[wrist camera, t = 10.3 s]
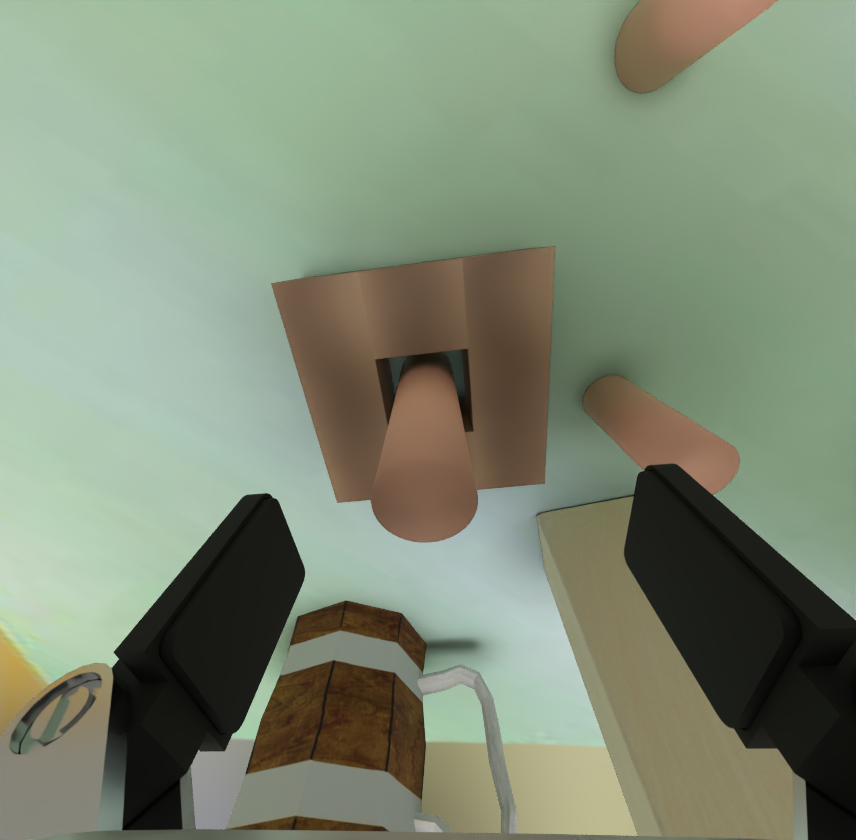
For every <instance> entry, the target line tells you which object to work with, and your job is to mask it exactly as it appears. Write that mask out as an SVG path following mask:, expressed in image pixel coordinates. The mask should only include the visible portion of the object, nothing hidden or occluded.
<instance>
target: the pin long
mask: <svg viewBox="0 0 856 840" xmlns="http://www.w3.org/2000/svg"><path fill="white" fill-rule="evenodd" d="M371 504H372V509H373V512H374V515H375V516H376V518H377V520H378V521H379V523H380V524H381V525H382V526H383V527H384V528H385V529H386V530H388V531H389V532H391V533H392V534H394V535H396V536H398V537H400V538H403V539H405V540H409V541H414V542H436V541H441V540H444V539H447V538H450V537H452V536H454V535H456V534H458V533H459V532H461V531H462V530H463V529H464V528H465V527H466V526H467V525H468V524H469V523H470V522H471V520H472V519H473V517H474V515H475V513H476V510H477V505H478V496H477V490H476V485H475V480H474V475H473V471H472V466H471V461H470V456H469V451H468V446H467V441H466V436H465V431H464V426H463V421H462V416H461V411H460V406H459V401H458V396H457V391H456V386H455V381H454V376H453V371H452V366H451V363H450V360H449V359H448V357H447V356H446V355H445V354H444V353H443V352H435V353H426V354H418V355H409V356H407V358H406V359H405V361H404V364H403V368H402V372H401V376H400V380H399V384H398V388H397V392H396V396H395V400H394V404H393V409H392V413H391V417H390V421H389V425H388V429H387V433H386V437H385V441H384V445H383V449H382V453H381V457H380V462H379V466H378V470H377V474H376V478H375V482H374V486H373V490H372V495H371Z"/></svg>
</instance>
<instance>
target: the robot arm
mask: <svg viewBox="0 0 856 840" xmlns="http://www.w3.org/2000/svg"><path fill="white" fill-rule="evenodd" d="M624 558H625V561H626V564H627V566H628V568H629V569H630V571H631V573H632V574H633V576H634V578H635V579H636V581H637V583H638V584H639V586H640V588H641V589H642V591H643V592H644V594H645V596H646V597H647V599H648V601H649V602H650V604H651V606H652V607H653V609H654V611H655V612H656V614H657V616H658V617H659V619H660V621H661V622H662V624H663V626H664V627H665V629H666V631H667V632H668V634H669V636H670V637H671V639H672V641H673V642H674V644H675V646H676V647H677V649H678V651H679V652H680V654H681V656H682V657H683V659H684V661H685V662H686V664H687V666H688V667H689V669H690V671H691V672H692V674H693V675H694V677H695V679H696V680H697V682H698V684H699V685H700V687H701V689H702V690H703V692H704V694H705V695H706V697H707V699H708V700H709V702H710V704H711V705H712V707H713V709H714V710H715V712H716V714H717V715H718V717H719V718H720V720H721V721H722V722H723V723H724V724H725V725H726V726H727V727H729V728H734V730H735V731H736V733H737V735H738V736H739V738H740V740H741V741H742V743H743V744H744V746H745V748H746V749H778V750H779V752H780V753H781V755H782V756H783V757H784V759H785V760H786V762H787V763H788V765H789V766H790V768H791V769H792V779H793V827H794V840H856V620H854V619H853V618H852V617H851V616H850V615H849V614H848V613H847V612H845V611H844V610H843V609H842V608H841V607H840V606H839V605H837V604H836V603H835V602H834V601H833V600H832V599H831V598H829V597H828V596H827V595H826V594H825V593H824V592H823V591H821V590H820V589H819V588H818V587H817V586H816V585H815V584H813V583H812V582H811V581H810V580H809V579H808V578H807V577H805V576H804V575H803V574H802V573H801V572H800V571H799V570H797V569H796V568H795V567H794V566H793V565H792V564H791V563H789V562H788V561H787V560H786V559H785V558H784V557H783V556H781V555H780V554H779V553H778V552H777V551H776V550H775V549H773V548H772V547H771V546H770V545H769V544H768V543H767V542H765V541H764V540H763V539H762V538H761V537H760V536H759V535H757V534H756V533H755V532H754V531H753V530H752V529H751V528H749V527H748V526H747V525H746V524H745V523H744V522H743V521H742V520H740V519H739V518H738V517H737V516H736V515H735V514H734V513H732V512H731V511H730V510H729V509H728V508H727V507H726V506H724V505H723V504H722V503H721V502H720V501H719V500H718V499H716V498H715V497H714V496H713V495H712V494H711V493H710V492H708V491H707V490H706V489H705V488H704V487H703V486H702V485H700V484H699V483H698V482H697V481H696V480H695V479H694V478H692V477H691V476H690V475H689V474H688V473H687V472H686V471H684V470H683V469H682V468H681V467H680V466H678V465H677V464H673V463H671V464H657V465H648V466H647V467H646V468H645V469H644V471H643V472H640V473H639V474H638V476H637V481H636V487H635V492H634V498H633V503H632V508H631V514H630V519H629V525H628V530H627V535H626V541H625V546H624ZM304 577H305V568H304V565H303V563H302V560H301V558H300V555H299V553H298V550H297V547H296V545H295V542H294V540H293V537H292V535H291V532H290V530H289V527H288V524H287V522H286V519H285V517H284V514H283V512H282V509H281V507H280V504H279V502H278V500H277V499H275V498H272V496H271V495H270V494H267V493H265V494H252V495H246V496H244V497H243V498H242V499H241V500H240V501H239V502H238V504H237V505H236V506H235V507H234V508H233V510H232V511H231V512H230V513H229V514H228V516H227V517H226V518H225V519H224V520H223V522H222V523H221V524H220V525H219V526H218V528H217V529H216V530H215V531H214V532H213V534H212V535H211V536H210V537H209V538H208V540H207V541H206V542H205V543H204V544H203V546H202V547H201V548H200V549H199V550H198V552H197V553H196V554H195V555H194V556H193V558H192V559H191V560H190V561H189V562H188V564H187V565H186V566H185V567H184V568H183V570H182V571H181V572H180V573H179V574H178V576H177V577H176V578H175V579H174V580H173V582H172V583H171V584H170V585H169V586H168V588H167V589H166V590H165V591H164V592H163V594H162V595H161V596H160V597H159V598H158V600H157V601H156V602H155V603H154V604H153V606H152V607H151V608H150V609H149V610H148V612H147V613H146V614H145V615H144V616H143V618H142V619H141V620H140V621H139V622H138V624H137V625H136V626H135V627H134V628H133V630H132V631H131V632H130V633H129V634H128V636H127V637H126V638H125V639H124V640H123V642H122V643H121V644H120V645H119V646H118V648H117V649H116V650H115V651H114V653H115V655H116V656H117V657H118V658H119V660H118V661H117V662H116V664H115V665H114V666H113V667H112V668H111V667H109V666H108V665H107V664H103V663H93V664H89V665H86V666H82V667H80V668H78V669H76V670H73V671H71V672H69V673H67V674H65V675H64V676H62V677H61V678H59V679H58V680H56V681H54V682H53V683H51V684H50V685H48V686H47V687H46V688H45V689H44V690H42V691H41V692H40V693H39V694H37V695H36V696H35V697H34V698H32V700H30V701H29V702H28V704H27V705H26V706H25V707H24V708H23V709H22V710H21V711H20V712H19V713H18V714H17V715H16V716H15V717H14V719H13V720H12V721H11V723H10V724H9V725H8V727H7V728H6V729H5V731H4V733H3V734H2V736H1V738H0V840H773V839H750V838H706V837H660V836H614V835H568V834H512V833H453V832H388V831H310V830H211V829H209V830H207V829H203V830H202V829H196V828H195V816H194V803H193V790H192V778H191V764H192V762H193V760H194V758H195V756H196V754H197V752H198V750H200V751H225V750H226V747H227V745H228V743H229V741H230V738H231V736H232V734H233V733H235V732H236V731H238V730H239V728H240V727H241V725H242V724H243V722H244V719H245V717H246V715H247V712H248V710H249V708H250V705H251V703H252V701H253V698H254V696H255V694H256V691H257V689H258V687H259V684H260V682H261V680H262V677H263V675H264V673H265V670H266V668H267V666H268V663H269V661H270V659H271V656H272V654H273V652H274V649H275V647H276V645H277V642H278V640H279V638H280V635H281V633H282V631H283V628H284V626H285V624H286V621H287V619H288V617H289V614H290V612H291V610H292V607H293V605H294V603H295V600H296V598H297V596H298V593H299V591H300V589H301V586H302V584H303V581H304Z"/></svg>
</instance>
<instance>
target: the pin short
mask: <svg viewBox="0 0 856 840" xmlns="http://www.w3.org/2000/svg"><path fill="white" fill-rule="evenodd" d="M776 1H777V0H640V2H639V3H638V4H637V5H636V6H635V8H634V9H633V10H632V11H631V12H630V14H629V15H628V17H627V18H626V20H625V22H624V23H623V25H622V28H621V30H620V32H619V35H618V38H617V43H616V48H615V66H616V71H617V74H618V77H619V79H620V81H621V82H622V84H623V85H624V86H625V87H626V88H627V89H629V90H630V91H632V92H636V93H648V92H651V91H654V90H656V89H658V88H660V87H661V86H662V85H664V84H665V83H667V82H668V81H669V80H671V79H672V78H673V77H675V76H676V75H677V74H679V73H680V72H682V71H683V70H684V69H686V68H687V67H688V66H690V65H691V64H693V63H694V62H695V61H697V60H698V59H699V58H701V57H702V56H703V55H705V54H706V53H708V52H709V51H710V50H712V49H713V48H714V47H716V46H717V45H719V44H720V43H721V42H723V41H724V40H725V39H727V38H728V37H729V36H731V35H732V34H734V33H735V32H736V31H738V30H739V29H740V28H742V27H743V26H745V25H746V24H747V23H749V22H750V21H751V20H753V19H754V18H755V17H757V16H758V15H760V14H761V13H762V12H764V11H765V10H766V9H768V8H769V7H770V6H772V5H773V4H774V3H775V2H776Z"/></svg>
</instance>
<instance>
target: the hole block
mask: <svg viewBox="0 0 856 840" xmlns="http://www.w3.org/2000/svg"><path fill="white" fill-rule="evenodd" d="M554 258H555V246H553V247H540V248H528V249H521V250H513V251H505V252H498V253H490V254H482V255H475V256H467V257H459V258H452V259H444V260H437V261H429V262H421V263H414V264H406V265H398V266H391V267H383V268H375V269H368V270H360V271H352V272H345V273H337V274H330V275H322V276H314V277H307V278H300V279H294V280H288V281H282V282H276V283H271V285H272V288H273V291H274V295H275V298H276V301H277V305H278V308H279V311H280V315H281V318H282V321H283V324H284V328H285V331H286V334H287V338H288V341H289V344H290V348H291V351H292V354H293V358H294V361H295V364H296V368H297V371H298V374H299V378H300V381H301V384H302V387H303V391H304V394H305V397H306V401H307V404H308V407H309V411H310V414H311V417H312V421H313V424H314V427H315V431H316V434H317V437H318V441H319V444H320V447H321V450H322V454H323V457H324V460H325V464H326V467H327V470H328V474H329V477H330V480H331V484H332V487H333V490H334V494H335V497H336V500H337V503H340V502H351V501H362V500H371V495H372V490H373V486H374V482H375V478H376V474H377V470H378V466H379V462H380V457H381V453H382V449H383V445H384V441H385V437H386V433H387V429H388V425H389V421H390V417H391V413H392V409H393V404H394V400H395V395H394V389H393V383H392V377H391V372H390V366H389V360H388V358H392V357H400V356H409V355H418V354H426V353H435V352H443V351H452V350H461V349H462V354H463V368H464V381H465V395H466V402H459V406H460V411H461V416H462V421H463V426H464V431H465V436H466V441H467V446H468V451H469V456H470V461H471V466H472V471H473V475H474V480H475V485H476V490H480V489H491V488H502V487H513V486H524V485H534V484H545V464H546V441H547V418H548V395H549V372H550V349H551V327H552V304H553V281H554Z"/></svg>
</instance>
